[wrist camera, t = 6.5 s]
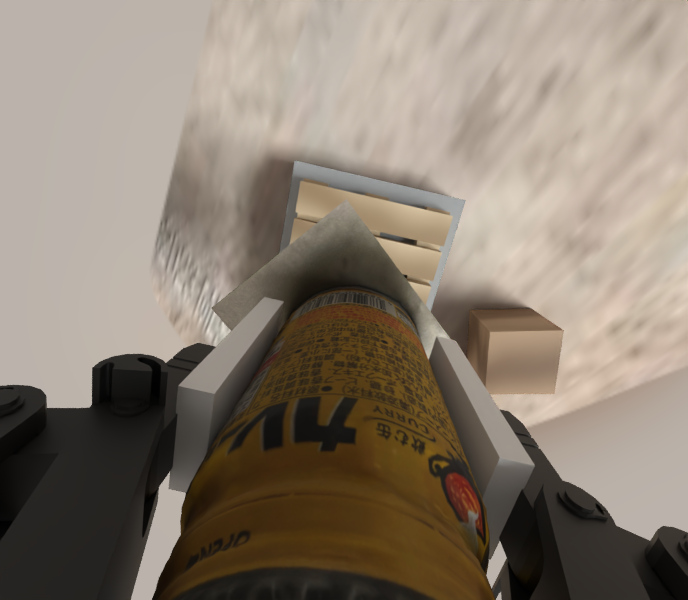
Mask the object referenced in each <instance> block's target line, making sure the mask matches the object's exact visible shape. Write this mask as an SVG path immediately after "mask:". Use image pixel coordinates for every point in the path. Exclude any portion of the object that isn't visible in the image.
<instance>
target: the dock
mask: <svg viewBox="0 0 688 600" xmlns="http://www.w3.org/2000/svg"><path fill="white" fill-rule="evenodd" d="M304 178H306V179H310V180H314V181H318V182H323V183H327V184H329V186H328V187H330V188H335V189H339V190H343V191H347V192H352V193H356V194H360V195H365V193H370V194H374V195H378V196H383V197H387V198H389V200H388V201H390V202H395V203H399V204H403V205H408V206H412V207H416V208H420V209H424V207H430V208H434V209H439V210H443V211H447V212H450V216H453V218H452V222H451V225H450V228H449V231H448V235H447V238H446V241H445V244H444V247H443V246H440V248H439V251H441V252H442V254H441V257H440V261H439V264H438V267H437V270H436V274H435V277H434V280H433V281H429V284H430V285H431V290H430V293H429V296H428V300H427V303H426V306H427V308H428V309H429V310H430V312H431V309H432V306H433V302H434V299H435V296H436V293H437V290H438V286H439V283H440V280H441V277H442V274H443V271H444V267H445V264H446V261H447V258H448V255H449V251H450V248H451V245H452V242H453V239H454V236H455V232H456V229H457V226H458V223H459V220H460V216H461V213H462V210H463V207H464V204H465V200H462V199H458V198H454V197H449V196H445V195H441V194H437V193H432V192H428V191H424V190H420V189H415V188H411V187H407V186H402V185H398V184H394V183H390V182H385V181H381V180H377V179H372V178H368V177H364V176H360V175H355V174H351V173H347V172H343V171H338V170H334V169H330V168H325V167H321V166H317V165H313V164H308V163H304V162H300V161H295V162H294V168H293V174H292V180H291V185H290V191H289V197H288V203H287V209H286V215H285V221H284V227H283V233H282V239H281V245H280V251H279V253H280V252H282V251H283V250H284V249H285V248H287V247H288V246H289V245H290V239H291V234H292V228H293V222H294V218H297V214H298V213H297V212H295V211H296V205H297V200H298V194H299V188H300V182H301V181H304ZM380 237H384V238H388V239H392V240H397V241H401V242H405V243H410V244H414V242H415V240H413V239H409V238H405V237H400V236H396V235H392V234H387V233H383V232H380ZM403 276H404V277H405V275H404V274H403Z"/></svg>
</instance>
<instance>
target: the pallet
mask: <svg viewBox="0 0 688 600" xmlns="http://www.w3.org/2000/svg"><path fill="white" fill-rule="evenodd" d="M328 186H329V184H327V183H323V182H318V181H314V180H310V179H306V178H304V181H301V182H300V188H299V194H298V200H297V205H296V211H295V212H297V213H298V214H297V218H294V222H293V228H292V234H291V239H290V244H291V243H293V242H294V241H295V240H296V239H298V238H299V237H300V236H302V235H303V234H304V233H305V232H306V231H307V230H309V229H310V228H311V227H312V226H314V225H315V224H316V223H317V222H319V221H320V220H321V219H322V218H324V217H325V216H326V215H327V214H329V213H330V212H331V211H332V210H333V209H334V208H336V207H337V206H338V205H340V204H341V203H342V202H343V201H345V200H346V199H347V200H348V202H349V203H350V204H351V206H352V207H353V209H354V210H355V211H356V213H357V214H358V215H359V217H360V218H361V219H362V221H363V222H364V223H365V225H366V226H367V227H368V229H369V230H370V231H371V233H372V234H373V235H374V237H375V238H376V239H377V240H378V242H379V243H380V245H381V246H382V247H383V249H384V250H385V251H386V253H387V254H388V255H389V257H390V258H391V259H392V261H393V262H394V264H395V265H396V267H397V268H398V269H399V270H400V272H401V273H402V274H404V275H405V278H406V280H407V281H408V282H409V283H410V285H411V286H412V288H413V289H414V290H415V292H416V293H417V294H418V296H419V297H420V298H421V300H422V301H423V302H424V304H425V305H426V303H427V300H428V296H429V293H430V290H431V285H430V284H429V281H433V280H434V277H435V274H436V270H437V267H438V264H439V261H440V257H441V254H442V252H441V251H439V248H440V246H443V247H444V244H445V241H446V238H447V235H448V231H449V228H450V225H451V222H452V218H453V216H450V212H447V211H443V210H439V209H434V208H430V207H424V209H420V208H416V207H412V206H408V205H403V204H399V203H395V202H390V201H388V200H389V198H387V197H383V196H378V195H374V194H370V193H365V195H360V194H356V193H352V192H347V191H343V190H339V189H335V188H330V187H328ZM380 232H383V233H387V234H392V235H396V236H400V237H405V238H409V239H413V240H415V242H414V244H410V243H405V242H401V241H397V240H392V239H388V238H384V237H380Z"/></svg>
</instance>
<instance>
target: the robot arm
mask: <svg viewBox="0 0 688 600" xmlns="http://www.w3.org/2000/svg"><path fill="white" fill-rule="evenodd" d="M283 303H284V301H280V300H276V299H271V298H267V297H264V298H263V299H262V300H261V301H260V302H259V303H258V304H257V305H256V306H255V307H254V308H253V309H252V310H251V311H250V312H249V313H248V315H247V316H246V317H245V318H244V319H243V320H242V321H241V322H240V323H239V324H238V325H237V326H236V327H235V328H234V329H233V330H232V331H231V332H230V333H229V334H228V335H227V336H226V337H225V338H224V339H223V340H222V341H221V342H220V343H219V344H218V345H217V346H216V347H214V346H210V345H206V344H201V343H197V344H194V345H191V346H189V347H186V348H183V349H182V350H181V351H180V352H179V353H177V354H176V355H175V356H174V357H173V359H170V360H169V361H168V362H167V363H165V362H164V361H163V360H161V359H159V358H157V357H154V356H150V355H144V354H125V355H120V356H114V357H111V358H108V359H105V360H103V361H101V362H99V363H98V364H97V365H95V366H94V367H93V368H92V405H91V407H90V408H47V403H46V395H45V394H44V392H43V391H42V390H41V389H38V388H35V387H32V386H24V385H7V386H0V600H131V596H132V593H133V589H134V585H135V582H136V578H137V574H138V571H139V567H140V564H141V560H142V556H143V553H144V549H145V545H146V542H147V539H148V535H149V531H150V527H151V524H152V520H153V517H154V513H155V510H156V506H157V502H158V490H159V486H160V484H161V483H162V482H163V480H164V479H165V477H166V476H167V474H168V473H169V472H170V481H169V489H172V490H176V491H181V492H185V493H186V492H187V490H188V487H189V485H190V482H191V481H192V480H193V478H194V476H195V474H196V472H197V470H198V468H199V466H200V465H201V463H202V461H203V460H204V458H205V456H206V454H207V452H208V450H209V449H210V447H211V445H212V444H213V443H214V441H215V439H216V437H217V435H218V434H219V432H220V431H221V429H222V427H223V426H224V424H225V423H226V421H227V419H228V418H229V416H230V414H231V412H232V410H233V409H234V407H235V406H236V404H237V402H238V401H239V400H240V398H241V396H242V394H243V392H244V391H245V389H246V388H247V386H248V385H249V383H250V381H251V379H252V377H253V376H254V374H255V373H256V371H257V370H258V368H259V366H260V365H261V362H262V360H263V358H264V356H265V354H266V353H267V351H268V350H269V349H270V348H271V346H272V344H273V341H274V339H275V338H276V337H277V335H278V331H279V325H280V320H281V314H282V309H283ZM429 362H430V365H431V368H432V371H433V374H434V376H435V379H436V381H437V383H438V386H439V389H440V390H441V391H442V396H443V399H444V402H445V404H446V407H447V410H448V412H449V415H450V417H451V420H452V423H453V425H454V427H455V429H456V432H457V436H458V439H459V440H460V444H461V447H462V449H463V452H464V455H465V457H466V459H467V461H468V464H469V466H470V468H471V473H472V475H473V478H474V480H475V483H476V486H477V488H478V490H479V492H480V494H481V497H482V500H483V503H484V505H485V507H486V510H487V522H488V527H489V534H490V545H489V546H490V551H489V559H491V558H492V556H493V554H494V551H495V549H496V547H497V545H498V543H499V541H501V544H502V547H503V549H504V551H505V554H506V557H507V559H506V561H505V563H504V565H503V567H502V569H501V571H500V573H499V575H498V577H497V579H496V581H495V583H494V585H493V587H492V591H493V594H494V596H495V599H496V598H497V596H498V594H499V593H500V592H501V595H502V600H688V533H687V532H685V531H682V530H679V529H677V528H674V527H666V526H663V527H661V528H660V529H658V530H657V531H656V533H655V534H654V536H653V538H652V539H651V541H649V540H647V539H644V538H642V537H640V536H638V535H635V534H633V533H631V532H629V531H626V530H624V529H622V528H620V527H617V526H616V525H615V523H614V520H613V519H612V517H611V516H610V514H609V513H608V511H607V510H606V508H605V507H603V506H602V505H601V504H600V503H599V502H598V501H597V500H596V499H595V498H594V497H593V496H591V495H590V494H588V493H587V492H585V491H584V490H583V489H581V488H579V487H577V486H575V485H573V484H571V483H569V482H565V481H562V479H561V478H560V477H559V475H558V473H557V472H556V471H555V469H554V468H553V466H552V465H551V464H550V462H549V461H548V460H547V458H546V456H545V455H544V454H543V452H542V451H541V449H538V445H537V443H536V442H535V441H534V439H533V438H531V435H530V434H529V432H528V431H527V429H526V428H525V426H524V425H523V423H521V422H520V421H519V420H518V419H517V418H516V417H514V416H513V415H512V414H511V413H510V412H508V411H504V410H499V408H498V407H497V405H496V403H495V402H494V400H493V399H492V397H491V396H490V394H489V392H488V391H487V389H486V388H485V386H484V385H483V383H482V381H481V380H480V378H479V377H478V375H477V374H476V372H475V370H474V369H473V367H472V366H471V364H470V363H469V361H468V359H467V358H466V356H465V355H464V353H463V352H462V350H461V348H460V347H459V345H458V344H457V342H456V341H455V340H451V339H447V338H443V337H438V336H436V339H435V342H434V345H433V348H432V351H431V354H430V357H429Z"/></svg>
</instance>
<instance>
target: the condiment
mask: <svg viewBox="0 0 688 600" xmlns="http://www.w3.org/2000/svg"><path fill="white" fill-rule="evenodd" d="M264 297H267V298H271V299H276V300H280V301H284V303H283V309H282V314H281V320H280V325H279V331H278V335H277V337H276V338H275V339H274V341H273V344H272V346H271V348H270V349H269V350H268V351H267V353H266V354H265V356H264V358H263V360H262V362H261V365H260V366H259V368H258V370H257V371H256V373H255V374H254V376H253V377H252V379H251V381H250V383H249V385H248V386H247V388H246V389H245V391H244V392H243V394H242V396H241V398H240V400H239V401H238V402H237V404H236V406H235V407H234V409H233V410H232V412H231V414H230V416H229V418H228V419H227V421H226V423H225V424H224V426H223V427H222V429H221V431H220V432H219V434H218V435H217V437H216V439H215V441H214V443H213V444H212V445H211V447H210V449H209V450H208V452H207V454H206V456H205V458H204V460H203V461H202V463H201V465H200V466H199V468H198V470H197V472H196V474H195V476H194V478H193V480H192V481H191V482H190V485H189V487H188V490H187V492H186V496H185V500H184V503H183V506H182V514H181V521H180V522H181V536H180V537H179V539H178V541H177V543H176V545H175V547H174V548H173V550H172V553H171V556H170V558H169V560H168V561H167V563H166V565H165V567H164V569H163V571H162V573H161V575H160V577H159V580H158V583H157V587H156V591H155V593H154V596H153V598H152V600H496V599H495V596H494V594H493V591H492V589H491V586H490V584H489V582H488V579H487V576H486V574H487V568H488V562H489V551H490V546H489V545H490V534H489V527H488V522H487V510H486V507H485V505H484V503H483V500H482V497H481V494H480V492H479V490H478V488H477V486H476V483H475V480H474V478H473V475H472V473H471V468H470V466H469V464H468V461H467V459H466V457H465V455H464V452H463V449H462V447H461V444H460V440H459V439H458V436H457V432H456V429H455V427H454V425H453V423H452V420H451V417H450V415H449V412H448V410H447V407H446V404H445V402H444V399H443V396H442V391H441V390H440V389H439V386H438V383H437V381H436V379H435V376H434V374H433V371H432V368H431V365H430V362H429V357H430V354H431V351H432V348H433V345H434V342H435V339H436V336H438V337H443V338H447V339H450V337H449V336H448V335H447V333H446V332H445V331H444V329H443V328H442V327H441V325H440V324H439V323H438V321H437V320H436V319H435V317H434V316H433V315H432V313H431V312H430V310H429V309H428V308H427V306H426V305H425V304H424V302H423V301H422V300H421V298H420V297H419V296H418V294H417V293H416V292H415V290H414V289H413V288H412V286H411V285H410V283H409V282H408V281H407V280H406V278H405V277H404V276H403V274H402V273H401V272H400V270H399V269H398V268H397V267H396V265H395V264H394V262H393V261H392V259H391V258H390V257H389V255H388V254H387V253H386V251H385V250H384V249H383V247H382V246H381V245H380V243H379V242H378V240H377V239H376V238H375V237H374V235H373V234H372V233H371V231H370V230H369V229H368V227H367V226H366V225H365V223H364V222H363V221H362V219H361V218H360V217H359V215H358V214H357V213H356V211H355V210H354V209H353V207H352V206H351V204H350V203H349V202H348V200H347V199H346V200H345V201H343V202H342V203H341V204H340V205H338V206H337V207H336V208H334V209H333V210H332V211H331V212H330V213H329V214H327V215H326V216H325V217H324V218H322V219H321V220H320V221H319V222H317V223H316V224H315V225H314V226H312V227H311V228H310V229H309V230H307V231H306V232H305V233H304V234H303V235H302V236H300V237H299V238H298V239H296V240H295V241H294V242H293V243H291V244H290V245H289V246H288V247H287V248H285V249H284V250H283V251H282V252H280V253H279V254H278V255H277V256H275V257H274V258H273V259H272V260H270V261H269V262H268V263H267V264H266V265H264V266H263V267H262V268H260V269H259V270H258V271H257V272H256V273H254V274H253V275H252V276H251V277H249V278H248V279H247V280H246V281H244V282H243V283H242V284H241V285H239V286H238V287H237V288H236V289H234V290H233V291H232V292H231V293H229V294H228V295H227V296H226V297H225V298H223V299H222V300H221V301H220V302H218V303H217V304H216V305H215V306H213V307H212V309H213V311H214V312H215V313H216V314H217V315H218V316H219V317H220V319H221V320H222V321H223V322H224V323H225V325H226V326H227V327H228V328H229V329H230V330H233V329H234V328H235V327H236V326H237V325H238V324H239V323H240V322H241V321H242V320H243V319H244V318H245V317H246V316H247V315H248V313H249V312H250V311H251V310H252V309H253V308H254V307H255V306H256V305H257V304H258V303H259V302H260V301H261V300H262V299H263V298H264Z"/></svg>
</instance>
